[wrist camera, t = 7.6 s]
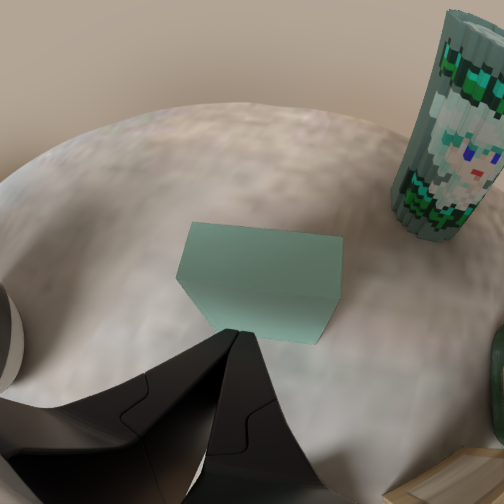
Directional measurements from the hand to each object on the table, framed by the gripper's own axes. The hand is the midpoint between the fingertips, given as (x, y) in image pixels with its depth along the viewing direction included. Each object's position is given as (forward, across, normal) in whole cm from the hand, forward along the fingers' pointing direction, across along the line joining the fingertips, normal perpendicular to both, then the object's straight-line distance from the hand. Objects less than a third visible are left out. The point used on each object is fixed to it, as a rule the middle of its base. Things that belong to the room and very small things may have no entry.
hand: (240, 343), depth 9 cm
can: (+16, -11, -3) cm, 20 cm away
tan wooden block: (+2, -12, +11) cm, 16 cm away
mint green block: (+9, 0, +4) cm, 10 cm away
